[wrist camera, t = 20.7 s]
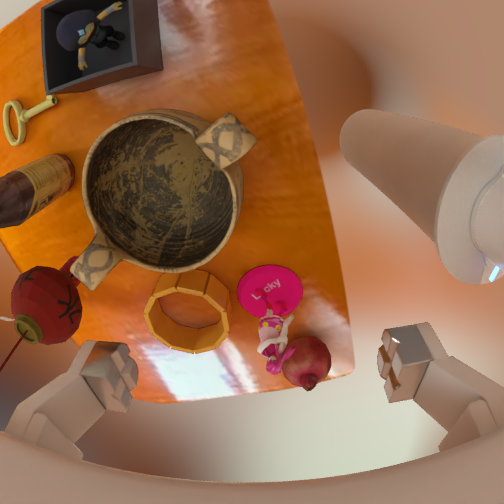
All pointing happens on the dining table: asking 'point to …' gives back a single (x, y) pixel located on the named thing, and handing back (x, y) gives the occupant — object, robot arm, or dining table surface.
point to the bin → (101, 59)
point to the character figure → (87, 32)
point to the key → (23, 117)
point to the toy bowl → (182, 335)
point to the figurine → (271, 308)
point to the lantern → (46, 305)
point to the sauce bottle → (33, 188)
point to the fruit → (307, 362)
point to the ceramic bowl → (161, 192)
